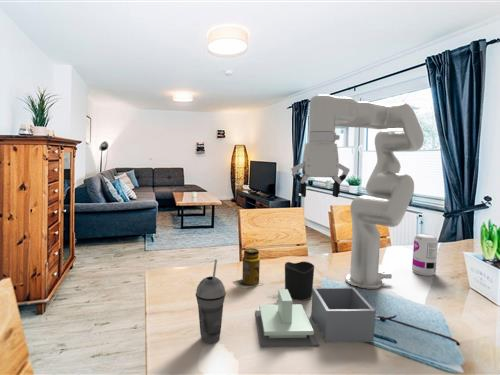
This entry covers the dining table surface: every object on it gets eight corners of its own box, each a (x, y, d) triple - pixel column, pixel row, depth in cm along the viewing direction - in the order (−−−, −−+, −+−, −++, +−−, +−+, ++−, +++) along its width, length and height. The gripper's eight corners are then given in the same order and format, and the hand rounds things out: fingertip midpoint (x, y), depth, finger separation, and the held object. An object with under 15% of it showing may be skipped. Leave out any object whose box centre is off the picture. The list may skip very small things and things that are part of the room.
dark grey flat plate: (303, 311, 93) (303, 310, 93) (319, 346, 76) (319, 344, 76) (255, 312, 92) (255, 310, 92) (260, 347, 75) (260, 345, 75)
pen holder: (306, 304, 98) (307, 272, 97) (279, 296, 103) (279, 266, 102) (317, 293, 106) (318, 264, 105) (291, 286, 111) (292, 258, 110)
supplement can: (413, 274, 125) (415, 237, 124) (411, 267, 133) (413, 232, 131) (436, 277, 122) (439, 239, 120) (433, 270, 130) (436, 234, 128)
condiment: (264, 284, 113) (264, 251, 112) (243, 289, 108) (244, 254, 107) (252, 277, 119) (253, 246, 118) (233, 282, 114) (233, 249, 113)
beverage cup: (196, 331, 82) (196, 255, 80) (225, 330, 82) (226, 254, 81) (194, 348, 75) (194, 264, 73) (225, 347, 75) (226, 264, 73)
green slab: (301, 312, 92) (302, 284, 91) (313, 340, 78) (314, 307, 77) (259, 313, 91) (259, 284, 90) (264, 341, 77) (265, 307, 76)
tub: (352, 313, 93) (353, 287, 92) (373, 341, 79) (375, 310, 78) (311, 314, 92) (312, 287, 91) (325, 342, 78) (326, 311, 77)
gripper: (345, 140, 98) (343, 195, 100) (290, 138, 97) (288, 194, 99) (355, 138, 91) (352, 198, 92) (294, 137, 90) (293, 198, 91)
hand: (319, 196), depth 96 cm, fingers open, 9 cm apart
